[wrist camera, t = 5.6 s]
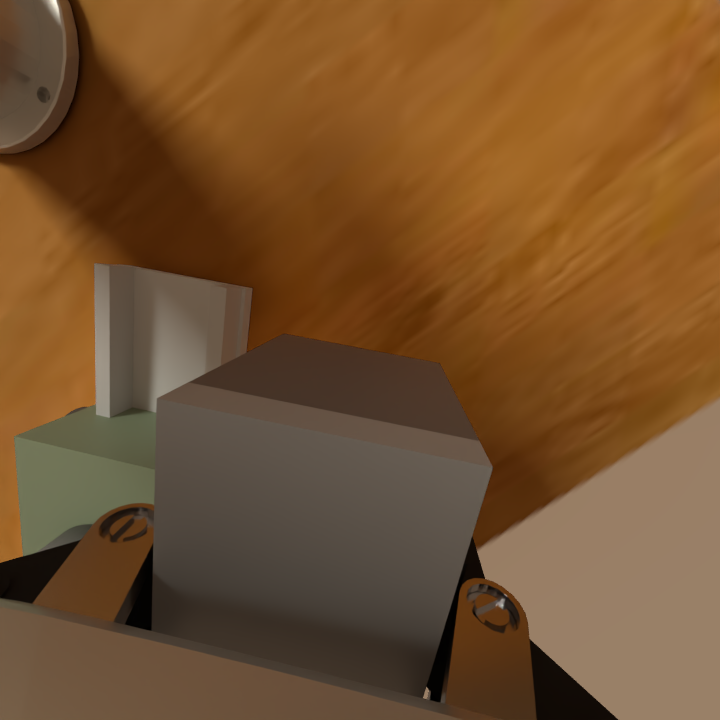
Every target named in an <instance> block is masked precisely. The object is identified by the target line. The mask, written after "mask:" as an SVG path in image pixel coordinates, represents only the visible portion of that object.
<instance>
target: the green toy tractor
mask: <svg viewBox="0 0 720 720" xmlns="http://www.w3.org/2000/svg"><path fill="white" fill-rule="evenodd" d="M94 278H95V365H96V404H95V405H93V406H90V407H81V408H78V409H75V410H73V411H71V412H70V413H68V414H67V415H66V416H65V417H62V418H60V419H57V420H55V421H52V422H49V423H47V424H44V425H42V426H39V427H37V428H34V429H32V430H29V431H26V432H24V433H21V434H19V435H16V436H14V441H15V454H16V468H17V481H18V495H19V508H20V522H21V536H22V549H23V556H26V555H30V554H33V553H37V552H40V551H44V550H47V549H50V548H54V547H57V546H61V545H64V544H68V543H71V542H75V541H78V540H81V539H82V538H83V537H84V536H85V534H86V533H87V532H88V530H89V529H90V528H91V526H92V525H93V524H94V523H95V522H96V521H97V520H98V519H99V518H100V517H101V516H102V515H104V514H105V513H107V512H109V511H110V510H113V509H115V508H118V507H120V506H124V505H128V504H133V503H147V504H152V505H154V494H155V449H156V404H157V398H158V397H160V396H162V395H164V394H166V393H168V392H170V391H172V390H174V389H176V388H178V387H180V386H182V385H184V384H186V383H188V382H190V381H192V380H194V379H196V378H198V377H200V376H202V375H204V374H205V373H207V372H209V371H211V370H213V369H215V368H217V367H219V366H221V365H223V364H225V363H227V362H229V361H231V360H233V359H235V358H237V357H239V356H241V355H243V354H245V353H246V352H247V342H248V331H249V321H250V311H251V300H252V290H253V288H249V287H244V286H238V285H233V284H227V283H222V282H217V281H211V280H206V279H201V278H195V277H190V276H184V275H179V274H174V273H168V272H163V271H158V270H152V269H147V268H141V267H136V266H131V265H119V264H117V265H113V264H98V263H94Z"/></svg>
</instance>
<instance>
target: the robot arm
mask: <svg viewBox="0 0 720 720" xmlns="http://www.w3.org/2000/svg"><path fill="white" fill-rule="evenodd" d="M78 65H79V49H78V38H77V30H76V26H75V21H74V17H73V13H72V9H71V6H70V3H69V1H68V0H0V154H15V153H19V152H22V151H26V150H30V149H32V148H33V147H35V146H37V145H39V144H40V143H42V142H44V141H45V140H46V139H47V138H48V137H49V136H50V135H51V134H52V133H53V132H54V131H56V129H57V128H58V126H59V125H60V123H61V122H62V120H63V119H64V117H65V116H66V114H67V112H68V109H69V107H70V104H71V102H72V100H73V97H74V92H75V88H76V83H77V79H78ZM153 540H154V505H152V504H147V503H133V504H128V505H124V506H120V507H118V508H115V509H113V510H110V511H109V512H107V513H105V514H104V515H102V516H101V517H100V518H99V519H98V520H97V521H96V522H95V523H94V524H93V525H92V526H91V528H90V529H89V530H88V532H87V533H86V534H85V536H84V537H83V538H82V539H81V540H78V541H75V542H71V543H68V544H64V545H61V546H57V547H54V548H50V549H47V550H44V551H40V552H37V553H33V554H30V555H26V556H23V557H19V558H16V559H12V560H9V561H5V562H2V563H0V720H618V719H617V718H616V717H615V716H614V715H612V714H611V713H610V712H609V711H608V710H607V709H606V708H605V707H604V706H603V705H601V704H600V703H599V702H598V701H597V700H596V699H595V698H594V697H593V696H592V695H590V694H589V693H588V692H587V691H586V690H585V689H584V688H583V687H582V686H580V685H579V684H578V683H577V682H576V681H575V680H574V679H573V678H572V677H571V676H569V675H568V674H567V673H566V672H565V671H564V670H563V669H562V668H561V667H560V666H558V665H557V664H556V663H555V662H554V661H553V660H552V659H551V658H550V657H549V656H547V655H546V654H545V653H544V652H543V651H542V650H541V649H540V648H539V647H538V646H537V645H535V644H534V643H533V642H532V641H531V640H530V639H529V629H528V622H527V618H526V614H525V612H524V610H523V608H522V607H521V605H520V603H519V602H518V601H517V600H516V599H515V598H514V596H513V595H512V594H511V593H509V592H508V591H507V590H505V589H504V588H503V587H502V586H500V585H498V584H496V583H494V582H492V581H489V580H486V579H485V577H484V574H483V570H482V567H481V563H480V560H479V557H478V553H477V550H476V547H475V543H474V540H473V536H472V538H471V541H470V545H469V548H468V551H467V555H466V558H465V561H464V564H463V568H462V571H461V574H460V577H459V581H458V584H457V587H456V591H455V594H454V597H453V600H452V604H451V607H450V610H449V614H448V617H447V620H446V623H445V627H444V630H443V633H442V637H441V640H440V643H439V646H438V650H437V653H436V656H435V660H434V663H433V666H432V669H431V673H430V676H429V679H428V683H427V688H428V689H429V693H428V698H427V699H423V698H419V697H415V696H411V695H407V694H404V693H400V692H396V691H392V690H388V689H384V688H380V687H376V686H372V685H368V684H364V683H360V682H356V681H352V680H348V679H344V678H340V677H337V676H333V675H329V674H325V673H320V672H316V671H312V670H308V669H304V668H300V667H296V666H292V665H288V664H284V663H280V662H276V661H272V660H268V659H264V658H260V657H256V656H252V655H248V654H244V653H240V652H236V651H231V650H227V649H223V648H219V647H215V646H211V645H207V644H203V643H199V642H195V641H191V640H186V639H182V638H178V637H174V636H170V635H165V634H161V633H157V632H153V631H152V585H153Z"/></svg>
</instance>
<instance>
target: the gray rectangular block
mask: <svg viewBox="0 0 720 720" xmlns="http://www.w3.org/2000/svg"><path fill="white" fill-rule="evenodd" d="M492 469H493V467H492V465H491V463H490V461H489V459H488V457H487V455H486V453H485V451H484V449H483V447H482V445H481V443H480V441H479V439H478V437H477V435H476V433H475V431H474V429H473V428H472V426H471V424H470V422H469V420H468V418H467V416H466V414H465V412H464V410H463V408H462V406H461V404H460V402H459V400H458V398H457V396H456V394H455V392H454V390H453V388H452V386H451V384H450V383H449V381H448V379H447V377H446V375H445V373H444V371H443V369H442V367H441V365H440V363H436V362H430V361H425V360H420V359H415V358H409V357H404V356H399V355H394V354H388V353H383V352H378V351H373V350H367V349H362V348H357V347H352V346H346V345H341V344H336V343H331V342H325V341H320V340H315V339H309V338H304V337H299V336H294V335H288V334H282V335H280V336H278V337H276V338H274V339H272V340H270V341H268V342H266V343H264V344H262V345H261V346H259V347H257V348H255V349H253V350H251V351H249V352H247V353H245V354H243V355H241V356H239V357H237V358H235V359H233V360H231V361H229V362H227V363H225V364H223V365H221V366H219V367H217V368H215V369H213V370H211V371H209V372H207V373H205V374H204V375H202V376H200V377H198V378H196V379H194V380H192V381H190V382H188V383H186V384H184V385H182V386H180V387H178V388H176V389H174V390H172V391H170V392H168V393H166V394H164V395H162V396H160V397H158V398H157V404H156V449H155V494H154V540H153V585H152V631H153V632H157V633H161V634H165V635H170V636H174V637H178V638H182V639H186V640H191V641H195V642H199V643H203V644H207V645H211V646H215V647H219V648H223V649H227V650H231V651H236V652H240V653H244V654H248V655H252V656H256V657H260V658H264V659H268V660H272V661H276V662H280V663H284V664H288V665H292V666H296V667H300V668H304V669H308V670H312V671H316V672H320V673H325V674H329V675H333V676H337V677H340V678H344V679H348V680H352V681H356V682H360V683H364V684H368V685H372V686H376V687H380V688H384V689H388V690H392V691H396V692H400V693H404V694H407V695H411V696H415V697H419V698H423V696H424V692H425V689H426V686H427V683H428V679H429V676H430V673H431V669H432V666H433V663H434V660H435V656H436V653H437V650H438V646H439V643H440V640H441V637H442V633H443V630H444V627H445V623H446V620H447V617H448V614H449V610H450V607H451V604H452V600H453V597H454V594H455V591H456V587H457V584H458V581H459V577H460V574H461V571H462V568H463V564H464V561H465V558H466V555H467V551H468V548H469V545H470V541H471V538H472V535H473V532H474V528H475V525H476V522H477V518H478V515H479V512H480V509H481V505H482V502H483V499H484V495H485V492H486V489H487V486H488V482H489V479H490V476H491V472H492Z"/></svg>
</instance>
